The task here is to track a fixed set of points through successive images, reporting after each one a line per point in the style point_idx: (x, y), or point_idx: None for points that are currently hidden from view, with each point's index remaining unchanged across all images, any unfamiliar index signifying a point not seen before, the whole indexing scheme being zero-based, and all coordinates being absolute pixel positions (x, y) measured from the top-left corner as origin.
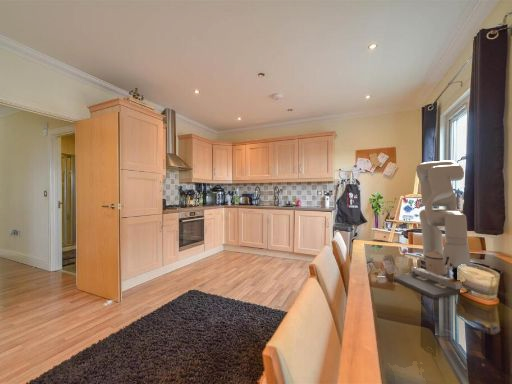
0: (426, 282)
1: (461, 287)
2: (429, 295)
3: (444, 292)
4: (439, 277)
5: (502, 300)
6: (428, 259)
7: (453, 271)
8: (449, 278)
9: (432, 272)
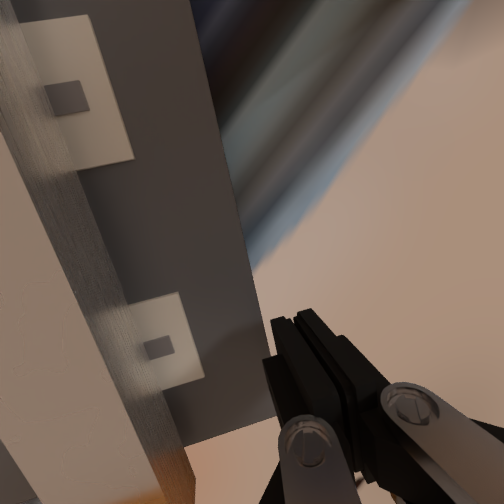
0: None
1: (194, 489)
2: None
3: (12, 497)
4: (8, 434)
5: (358, 478)
6: None
7: (276, 491)
8: (142, 464)
9: (21, 195)
